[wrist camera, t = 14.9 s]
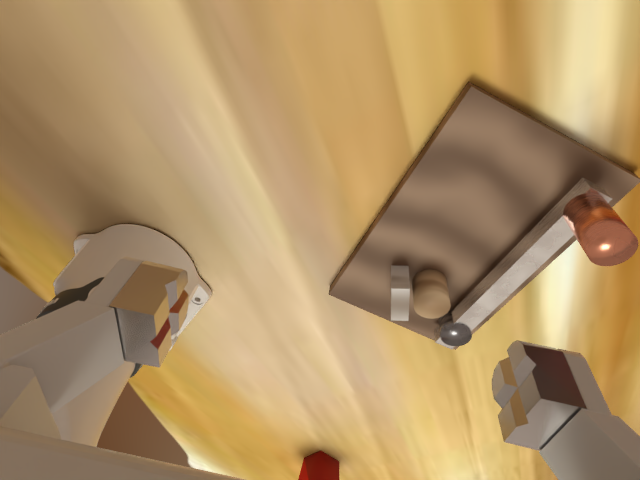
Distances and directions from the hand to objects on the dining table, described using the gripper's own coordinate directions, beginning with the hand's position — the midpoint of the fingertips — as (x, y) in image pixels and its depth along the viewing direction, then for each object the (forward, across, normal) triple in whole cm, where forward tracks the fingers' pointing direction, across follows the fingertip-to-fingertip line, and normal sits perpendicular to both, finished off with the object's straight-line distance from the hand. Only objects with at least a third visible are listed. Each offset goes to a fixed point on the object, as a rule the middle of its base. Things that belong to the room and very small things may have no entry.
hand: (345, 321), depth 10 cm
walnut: (+32, +12, -24) cm, 42 cm away
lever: (+31, +19, -19) cm, 41 cm away
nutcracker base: (+33, +14, -18) cm, 40 cm away
